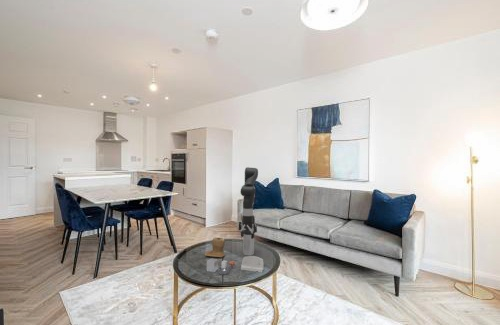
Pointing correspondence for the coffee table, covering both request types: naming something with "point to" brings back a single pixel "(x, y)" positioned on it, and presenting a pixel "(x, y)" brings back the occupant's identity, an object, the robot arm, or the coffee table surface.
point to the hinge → (252, 264)
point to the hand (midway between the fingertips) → (247, 237)
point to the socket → (212, 265)
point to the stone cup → (216, 248)
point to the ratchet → (226, 267)
